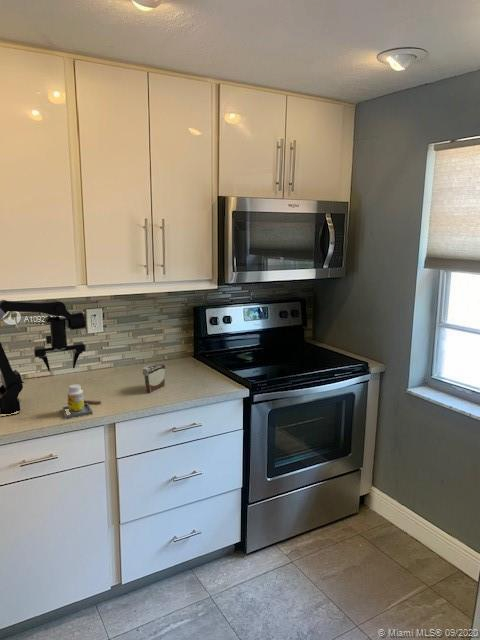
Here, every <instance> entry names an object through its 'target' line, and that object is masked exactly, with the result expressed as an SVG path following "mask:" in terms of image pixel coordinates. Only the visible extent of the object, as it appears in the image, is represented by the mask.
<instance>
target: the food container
mask: <svg viewBox="0 0 480 640" xmlns="http://www.w3.org/2000/svg"><path fill="white" fill-rule="evenodd" d="M166 369H167V365H166V364H165V363H155V364H154V363H153V364H148V365H145V366H144V367H143V369H142V375H143V376H144V384H145V391H146V392H147V393H149V394H152V393H155V392H157V391H158V390H161V389H163V388H166Z"/></svg>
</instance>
